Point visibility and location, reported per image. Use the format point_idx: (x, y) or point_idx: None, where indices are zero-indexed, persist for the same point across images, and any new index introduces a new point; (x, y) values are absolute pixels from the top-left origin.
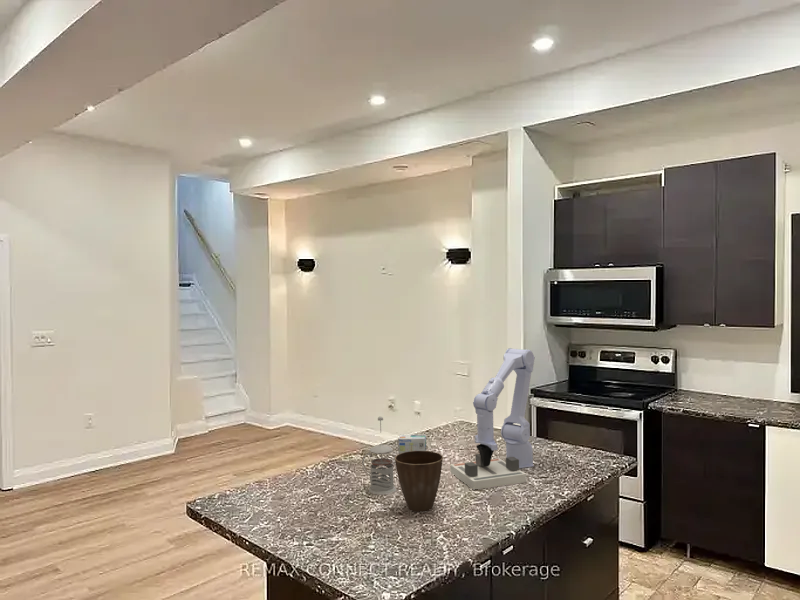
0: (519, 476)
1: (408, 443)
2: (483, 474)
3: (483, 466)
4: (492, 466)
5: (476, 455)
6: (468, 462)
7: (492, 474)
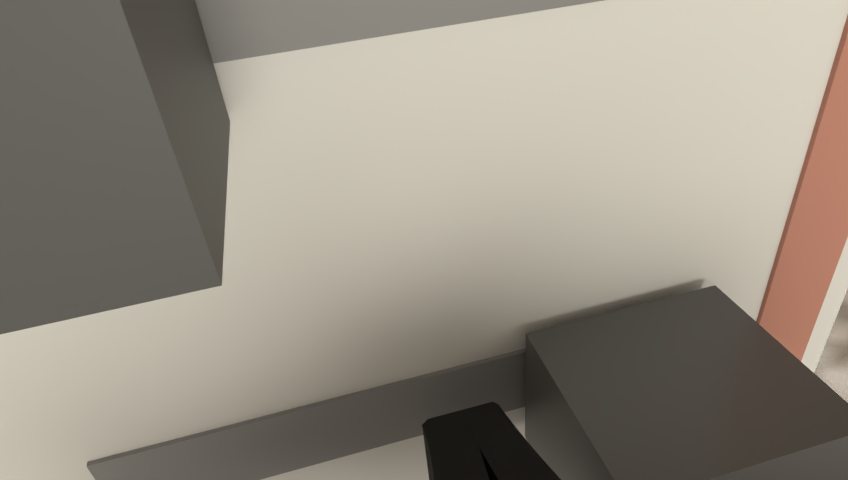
0: None
1: None
2: (80, 318)
3: (526, 378)
4: None
5: (817, 424)
6: (158, 95)
7: (80, 457)
